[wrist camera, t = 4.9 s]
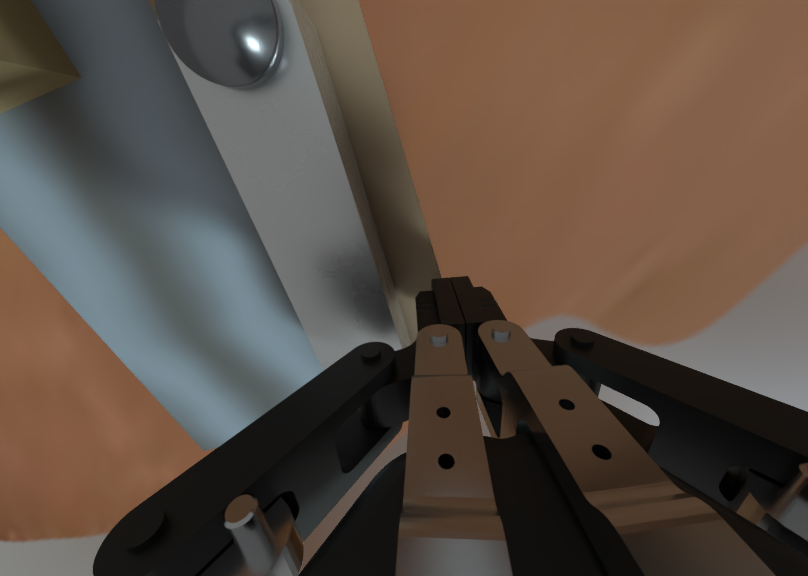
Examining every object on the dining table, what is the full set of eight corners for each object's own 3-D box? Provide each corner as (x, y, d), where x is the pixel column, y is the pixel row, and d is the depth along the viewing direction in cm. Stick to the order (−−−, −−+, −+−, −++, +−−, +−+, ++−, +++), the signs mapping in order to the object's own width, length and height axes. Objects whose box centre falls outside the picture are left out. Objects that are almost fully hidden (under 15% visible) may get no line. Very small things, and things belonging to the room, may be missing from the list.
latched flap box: (276, -266, 9) (130, -773, 4) (464, 356, 19) (489, 432, 14) (-158, -32, 11) (-625, -181, 6) (220, 424, 21) (165, 512, 16)
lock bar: (213, 28, 9) (114, -35, 6) (306, -4, 9) (256, -87, 6) (356, 371, 15) (345, 434, 12) (415, 358, 15) (421, 418, 11)
